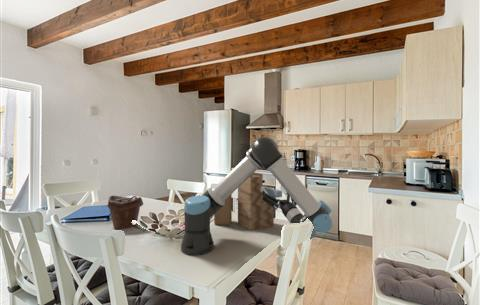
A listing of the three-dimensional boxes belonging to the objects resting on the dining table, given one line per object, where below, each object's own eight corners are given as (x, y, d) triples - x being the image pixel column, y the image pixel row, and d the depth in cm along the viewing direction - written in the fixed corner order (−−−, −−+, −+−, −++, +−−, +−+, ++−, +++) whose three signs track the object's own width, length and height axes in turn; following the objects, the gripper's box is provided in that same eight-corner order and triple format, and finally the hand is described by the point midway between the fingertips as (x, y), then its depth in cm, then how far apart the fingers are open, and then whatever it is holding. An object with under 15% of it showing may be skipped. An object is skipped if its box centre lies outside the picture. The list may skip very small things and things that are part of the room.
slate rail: (276, 197, 135) (276, 191, 135) (252, 190, 158) (252, 184, 158) (281, 197, 136) (281, 190, 136) (257, 189, 160) (257, 184, 160)
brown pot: (148, 224, 149) (147, 195, 149) (112, 232, 136) (111, 200, 136) (137, 218, 163) (137, 191, 162) (103, 225, 149) (103, 196, 149)
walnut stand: (250, 229, 140) (250, 174, 140) (237, 222, 154) (237, 172, 154) (273, 225, 148) (273, 173, 147) (259, 218, 162) (259, 171, 161)
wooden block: (216, 220, 159) (216, 189, 158) (231, 220, 158) (231, 189, 158) (213, 225, 149) (213, 192, 148) (230, 225, 149) (230, 192, 148)
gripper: (269, 221, 122) (251, 194, 138) (307, 215, 134) (286, 190, 150) (273, 210, 119) (254, 183, 135) (312, 204, 130) (290, 180, 146)
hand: (271, 187), depth 142 cm, fingers open, 13 cm apart
